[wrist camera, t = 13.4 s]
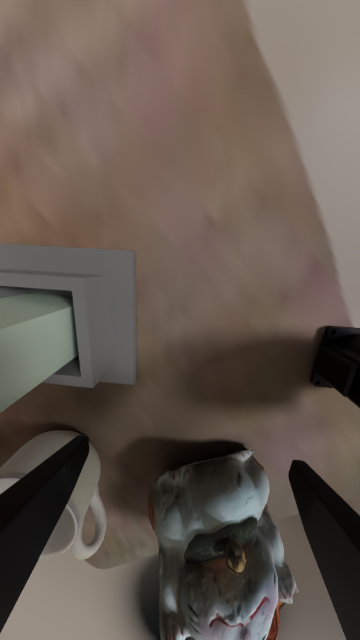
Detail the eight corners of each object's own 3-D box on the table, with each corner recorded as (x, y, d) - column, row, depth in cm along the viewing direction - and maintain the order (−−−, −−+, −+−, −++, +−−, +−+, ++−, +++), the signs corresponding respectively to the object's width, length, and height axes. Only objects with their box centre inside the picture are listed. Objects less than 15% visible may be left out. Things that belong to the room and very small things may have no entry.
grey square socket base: (135, 251, 17) (112, 245, 13) (136, 379, 21) (120, 412, 17) (-3, 244, 18) (-74, 235, 13) (23, 368, 22) (-25, 396, 17)
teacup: (20, 436, 25) (-56, 509, 18) (74, 402, 23) (13, 469, 15) (87, 499, 28) (46, 586, 20) (142, 473, 26) (119, 562, 18)
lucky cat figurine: (278, 442, 22) (390, 690, 12) (237, 465, 30) (283, 628, 20) (153, 456, 19) (162, 827, 8) (143, 478, 26) (141, 685, 16)
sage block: (90, 300, 18) (-142, 374, 6) (89, 346, 19) (-98, 486, 7) (41, 291, 18) (-291, 344, 6) (44, 337, 20) (-219, 460, 7)
